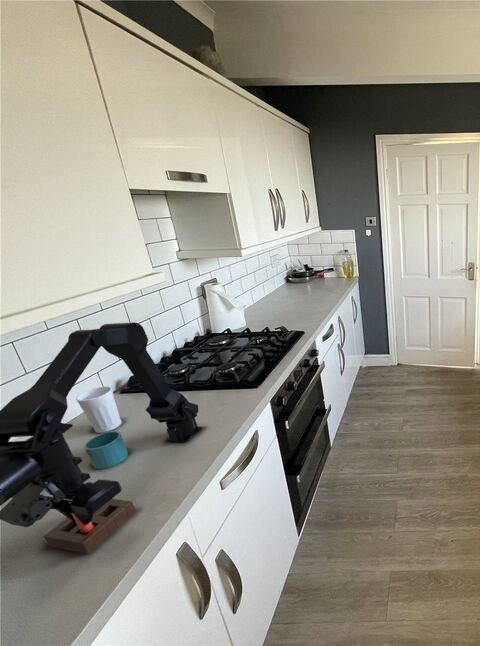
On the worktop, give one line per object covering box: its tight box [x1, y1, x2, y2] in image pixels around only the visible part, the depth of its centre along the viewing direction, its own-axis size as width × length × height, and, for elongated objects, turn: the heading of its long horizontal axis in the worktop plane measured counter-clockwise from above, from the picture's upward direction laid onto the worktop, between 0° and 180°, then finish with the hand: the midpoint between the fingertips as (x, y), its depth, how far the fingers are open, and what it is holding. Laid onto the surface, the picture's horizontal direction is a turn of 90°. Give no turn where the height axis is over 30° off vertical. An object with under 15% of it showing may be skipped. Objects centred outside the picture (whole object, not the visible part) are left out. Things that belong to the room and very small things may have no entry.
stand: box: [43, 498, 137, 555], centre depth 74 cm, size 10×10×3 cm
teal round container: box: [83, 430, 129, 470], centre depth 93 cm, size 7×7×6 cm
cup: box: [75, 385, 122, 434], centre depth 106 cm, size 8×8×12 cm
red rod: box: [71, 513, 94, 535], centre depth 71 cm, size 2×2×10 cm
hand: (83, 522), depth 71 cm, fingers closed on red rod, 2 cm apart
